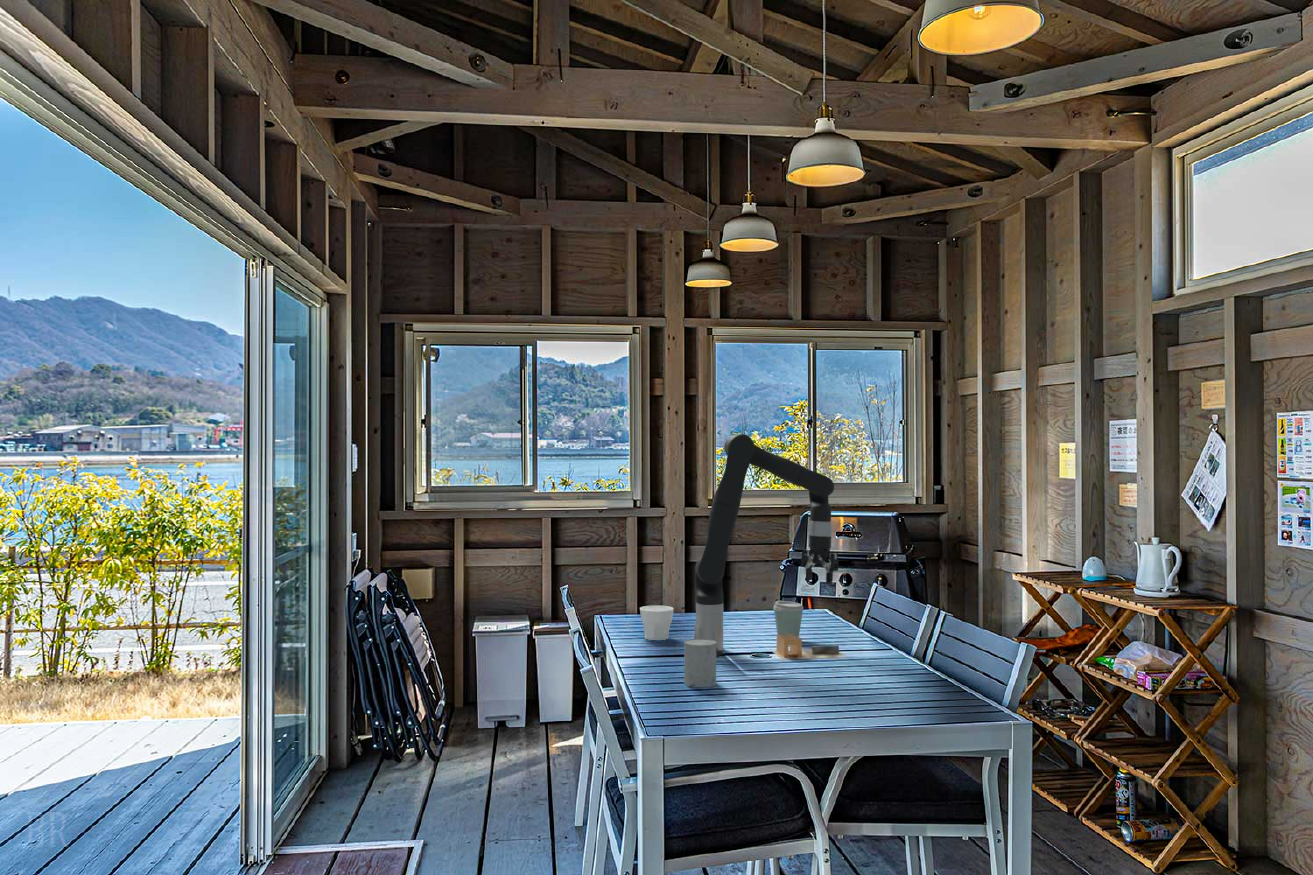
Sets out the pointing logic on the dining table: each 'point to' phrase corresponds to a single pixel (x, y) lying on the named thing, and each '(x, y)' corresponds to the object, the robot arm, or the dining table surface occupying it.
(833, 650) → the board
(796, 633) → the disposable coffee cup
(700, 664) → the grey cylinder
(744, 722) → the dining table surface
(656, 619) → the cup
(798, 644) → the cardboard box
